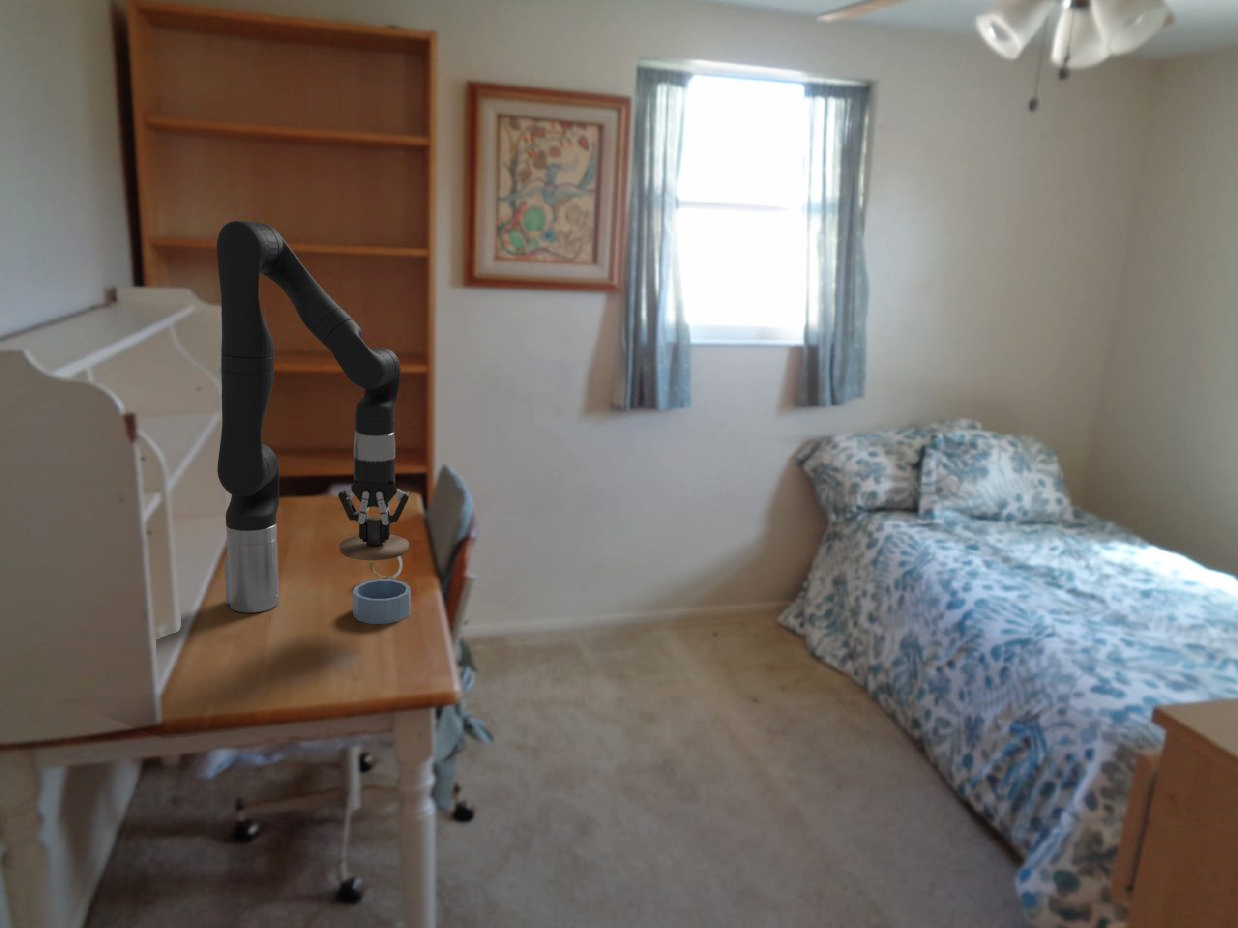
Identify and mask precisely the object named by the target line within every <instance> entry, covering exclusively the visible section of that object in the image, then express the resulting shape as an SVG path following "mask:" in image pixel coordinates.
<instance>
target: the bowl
mask: <svg viewBox="0 0 1238 928" xmlns="http://www.w3.org/2000/svg"><path fill="white" fill-rule="evenodd" d="M411 590H412V587H411V586H410V585H409V584H408V583H406V582H405V581H401V580H397V579H392V580H390V579H378V578H377V579H373V580H368V581H364V582H361V583H360V584H357V585H355V586H354V588H353V591H352V616H353V617H354V618H355V619H356V620H357V621H359V622H362V623H365V624H370V625H388V624H393V623H396V622H401V621H403V620H405V619H406V618H407V617H409V616H410V615H411V603H412V602H411V599H412V597H411V595H412V594H411V592H412V591H411Z"/></svg>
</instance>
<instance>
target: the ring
mask: <svg viewBox="0 0 1238 928" xmlns="http://www.w3.org/2000/svg"><path fill="white" fill-rule="evenodd" d="M395 558H396V559H397V560H398V566H399V567H398V569H397V571H396V573H394V574H393V575H390V576H389V575H385V576H382V575H380V574H378V573H377V572H376V570H375V568H374V563H375V561H376V560H369V570H370V572H371V574H372V576H374V578H376V579H377V580H378V579H390V580H395V579H396V578H398V576H399V575H400V574H401V572H402V570H403V566H404V565H403V564H404V562H403V558H402V555H401V556H398V557H395Z"/></svg>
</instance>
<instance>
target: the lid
mask: <svg viewBox="0 0 1238 928" xmlns="http://www.w3.org/2000/svg"><path fill="white" fill-rule="evenodd" d="M382 524H383V523H382V518H381V517H369V518H367V542H362V539H360V538H359V534H358V535H353V536H350V537H347V538H345V539H344V540H342V541H341V542H340V543H339V545H338V546H339V547H338V548H339V552H340V554H342V555H343V556H345V557H348V558H350V559H355V560H360V561H361V560H362V561H371V560H375V561H383V560H391V559H394V558H396V557H398V556H401V557H402V556H403V555H404V554H406V553H407V552H408V551H409V550H410V542H409V541H408V540H407V539H406V538H404V537H401V536H400V535H394V534H390V537H389V539H388V540H386V542H385V543H381V525H382Z"/></svg>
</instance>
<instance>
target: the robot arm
mask: <svg viewBox="0 0 1238 928" xmlns="http://www.w3.org/2000/svg"><path fill="white" fill-rule="evenodd" d="M216 240H217V241H216V260H217V270H218V278H219V287H220V300H221V301H220V303H221V309H220V310H221V312H220V313H221V347H220V348H221V349H220V352H221V354H220V355H221V356H220V357H221V358H220V361H221V365H220V366H221V368H220V369H221V370H220V372H221V375H220V376H221V413H222V415H221V433H220V443H219V448H218V449H219V452H218V457H217V458H218V459H217V466H216V467H217V477H218V480H219V482H220V484H221V487H223V489H224V490H225V491H226V492H228V493H229V494H230V495H231V498H230V502H229V504H228V507H227V509H226V512H225V525H226V526H225V528H226V545H227V547H226V548H227V549H226V550H227V558H225V559H224V579H225V580H224V581H225V597H226V598H225V601H226V602H225V604H226V605H229V607H230V608H231V610H233V611H235V612H240V613H248V614H249V613H259V612H264V611H265V612H266V611H268V610H270V609H274V608H275V607H277V606H278V605H279V603H280V593H279V591H280V590H279V587H280V585H279V582H280V581H279V561H278V560H279V559H278V557H279V556H278V532H277V531H278V530H277V513H278V510H279V505H280V466H279V461H278V458H277V456H276V453H275V452H274V450H273V449H271V447H270V446H269V445H267V444H265V443H263V436H262V435H263V434H262V433H263V424H264V423H263V422H264V419H265V416H266V411H267V408H268V405H269V401H270V398H271V393H272V392H273V391H272V390H273V385H274V378H275V345H274V340H273V336H272V334H271V331H270V329H269V327H268V326H269V325H268V324H267V321H266V319H265V318H264V315H263V312H262V308H261V305H260V294H259V293H260V288H259V287H260V274H261V275H264V276H265V277H267V278H268V279H269V280H271V281H272V282H273V283H274V284H276V285H277V286H278V287H279V288H280V289H282V291H283V292H284V293H285V294H286V295H287V297H288V298H289V299H290V302H291V303H292V304H293V306H294V309H295V310H296V313H297V315H298V316H299V319H300V320H301V322H302V323H303V325H304V326H305V327H306V328H307V329H308V330H309V331H310V333H311V334H312V335H313V336H314V337H315V338H316V339H317V340H318V341H320V343H321V344H322V345H323V346H325V348H327V350H329V351H330V353H331V354H332V356H333V357H334V360H335V361H336V363H337V364H338V365H339V367H340V368H341V370H342V372H343V373H344V375H345V376H346V377H347V378H348V379H349V381H351V382H352V383H353V384H355V385H356V386H357V387H359V388H362V389H364V392H363V393H364V394H363V397H362V398H361V400H359V401H358V403H357V404H356V407H355V414H354V416H355V418H354V419H355V423H354V425H355V426H354V427H355V429H354V430H355V431H354V432H355V433H354V441H353V450H352V451H353V452H352V453H353V483H352V484H351V487H349V488H348V487H347V488H342V489H341V490H340V491H339V492H338V493H337V494H338V495H337V496H338V498H339V500H340V503H341V505H342V507H343V509H344V511H345V514H346V515H347V518H348V519H349V521H354V522H357V524H358V535H359V538H360V539H362V542H367V519H368V516H369V509H370V508H373V507H375V508H378V510H379V515H380V518H381V519H382V523H383V524H382V525H381V543H385V542H386V540H388V539H389V537H390V535H391V524H392V523H397V522H398V521H399V519H400V517H401V515H402V513H403V511H404V509H405V508H406V505H407V503H408V501H409V499H410V497H411V492H410V491H403V490H402V489H399V488H398V485H397V483H396V437H395V407H396V402H397V399H398V394H399V388H400V384H401V378H402V377H401V375H402V369H401V364H400V360H399V358H398V356H397V355H396V354H395V352H394V351H392V350H391V349H388V348H386V347H377V348H372V349H370V348H369V346H367V345H366V343H365V342H364V341H363V340H362V337H363V331H362V329H361V327H360V326H359V324H358V323H357V322H356V321H355V320H354V319H353V318H352V317H351V316H350V315H349V314H348V313H347V312H346V311H345V310H344V309H342V307H341V306H339V304H338V303H337V302H336V301H335V300H334V299H333V298H332V297H331V296H330V295H329V294H328V293H327V292H326V291H325V290H324V288H322V287H321V285H320V284H319V283H318V282H317V281H316V280H315V279H314V277H313V276H312V274H310V272H309V271H308V269H306V267H305V266H304V265H303V263H302V262H301V261H300V259H299V258H298V257H297V255H296V254H295V253H294V251H293V250H292V248H291V247H290V245H289V244H288V242H286V240H285V239H284V237H283V236H282V235H281V234H280V233H279V232H278V231H277V229H275V228H274V227H273V226H271V225H268V224H266V223H263V222H256V221H255V222H254V221H246V220H244V221H243V220H233V221H230V222H227V223H226V224H225V225H224V226H223V227H222V228H221V229H220V230H219V233H218V236H217V239H216ZM353 495H354V496H355V497H356V498H357V500H358V501H359V503H360V507H359V512H358V511H357V509H356V507H355V505H354V502H353V500H352V498H353ZM395 495H396V501H397V502H398V505H397V507H396V509H395V511H394V513H392V514H391V511H390V501H391V500H392V499H393V497H394V496H395Z"/></svg>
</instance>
